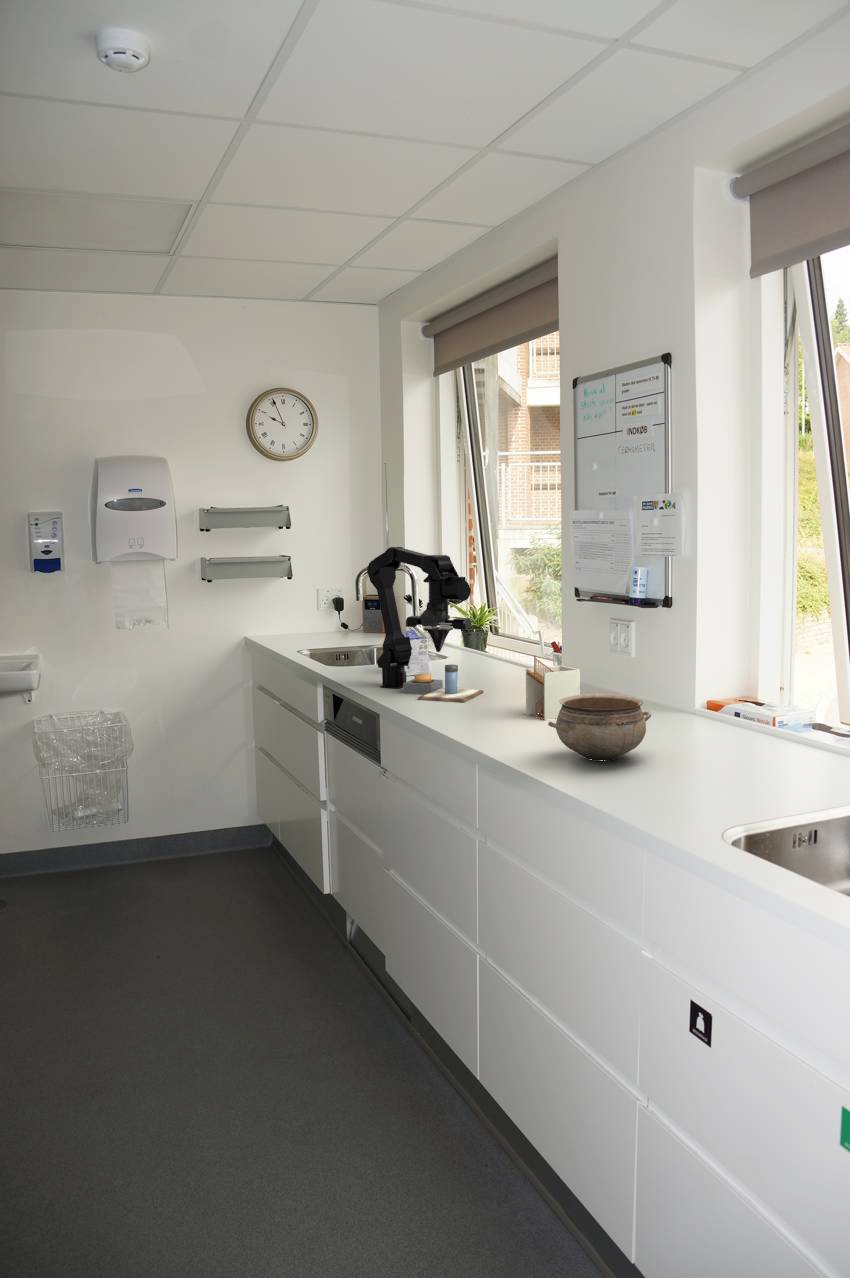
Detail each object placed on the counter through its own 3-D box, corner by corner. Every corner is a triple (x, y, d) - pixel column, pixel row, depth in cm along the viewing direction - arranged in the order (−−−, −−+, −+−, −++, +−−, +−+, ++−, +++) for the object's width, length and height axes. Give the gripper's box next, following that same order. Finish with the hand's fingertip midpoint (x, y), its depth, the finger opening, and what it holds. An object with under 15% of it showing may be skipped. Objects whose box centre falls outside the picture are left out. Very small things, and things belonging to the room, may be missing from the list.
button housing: (403, 693, 292) (403, 683, 292) (415, 688, 300) (415, 678, 300) (431, 694, 288) (431, 684, 288) (442, 689, 297) (442, 679, 296)
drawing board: (418, 699, 281) (418, 696, 281) (439, 690, 295) (439, 687, 295) (464, 702, 275) (464, 699, 275) (483, 692, 290) (483, 689, 290)
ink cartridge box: (423, 672, 332) (422, 629, 330) (430, 674, 327) (429, 631, 325) (396, 674, 327) (395, 631, 326) (402, 676, 322) (401, 632, 321)
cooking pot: (573, 774, 197) (573, 714, 195) (527, 754, 214) (527, 699, 213) (676, 761, 206) (677, 703, 205) (624, 742, 224) (625, 689, 222)
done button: (412, 682, 293) (411, 675, 292) (418, 679, 297) (418, 673, 297) (427, 683, 291) (427, 676, 290) (433, 680, 295) (433, 674, 295)
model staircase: (525, 716, 257) (525, 653, 255) (560, 712, 262) (560, 650, 260) (544, 722, 249) (544, 657, 247) (579, 717, 254) (580, 654, 252)
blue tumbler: (442, 693, 284) (442, 666, 283) (447, 691, 288) (447, 664, 287) (455, 694, 283) (455, 667, 282) (459, 692, 286) (459, 665, 285)
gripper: (397, 599, 282) (398, 653, 284) (458, 602, 275) (458, 657, 277) (413, 596, 292) (413, 648, 294) (472, 598, 285) (472, 652, 287)
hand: (438, 651), depth 288 cm, fingers closed
